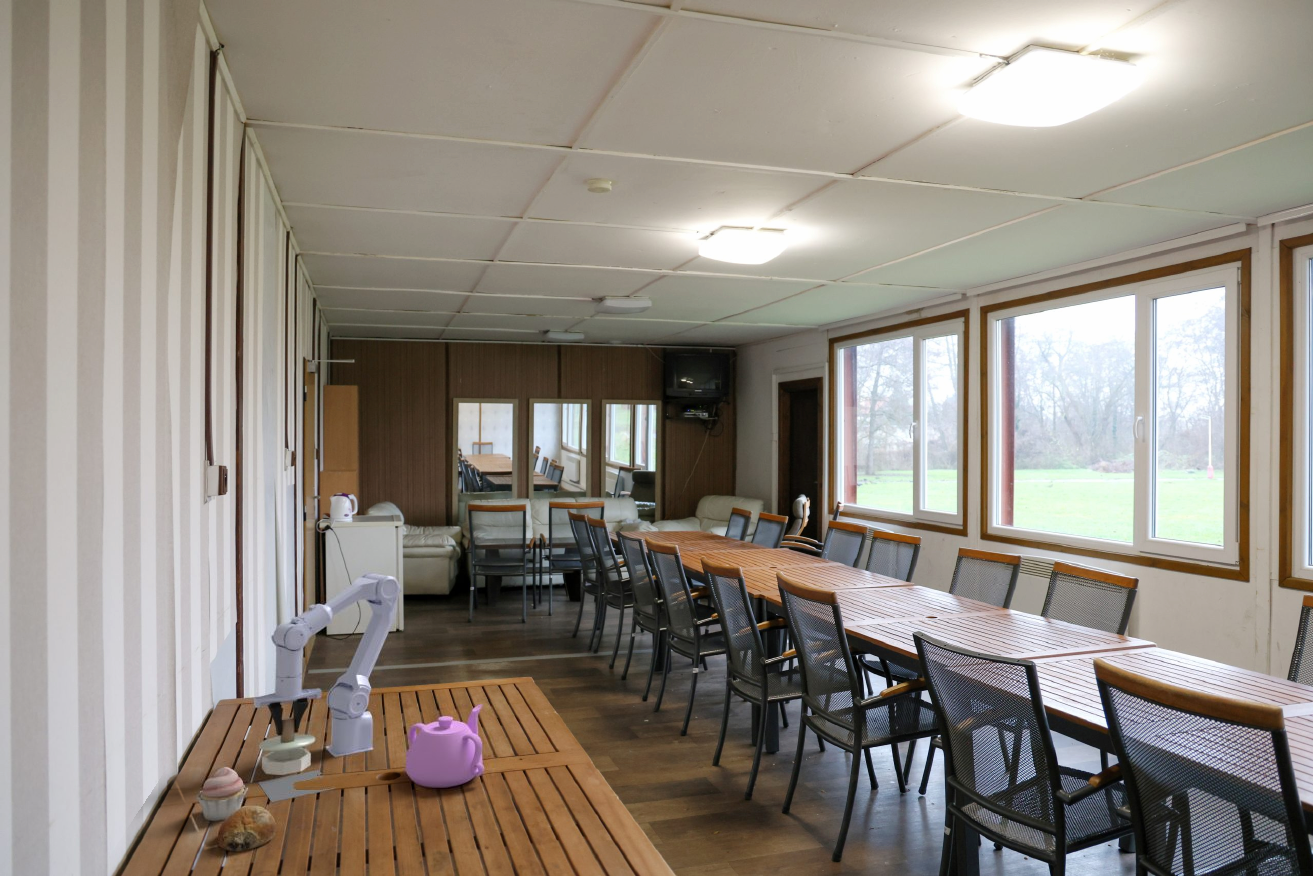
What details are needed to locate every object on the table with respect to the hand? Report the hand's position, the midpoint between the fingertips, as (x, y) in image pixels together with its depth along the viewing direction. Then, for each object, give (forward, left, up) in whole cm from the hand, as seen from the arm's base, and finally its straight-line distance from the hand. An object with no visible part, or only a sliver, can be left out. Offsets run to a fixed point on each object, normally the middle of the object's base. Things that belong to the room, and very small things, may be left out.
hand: (287, 733), depth 199 cm
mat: (+1, +13, -8) cm, 15 cm away
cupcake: (+17, +20, -8) cm, 28 cm away
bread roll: (+15, +34, -9) cm, 38 cm away
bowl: (0, 0, -8) cm, 8 cm away
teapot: (-30, +25, -8) cm, 40 cm away
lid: (0, +1, -2) cm, 2 cm away
